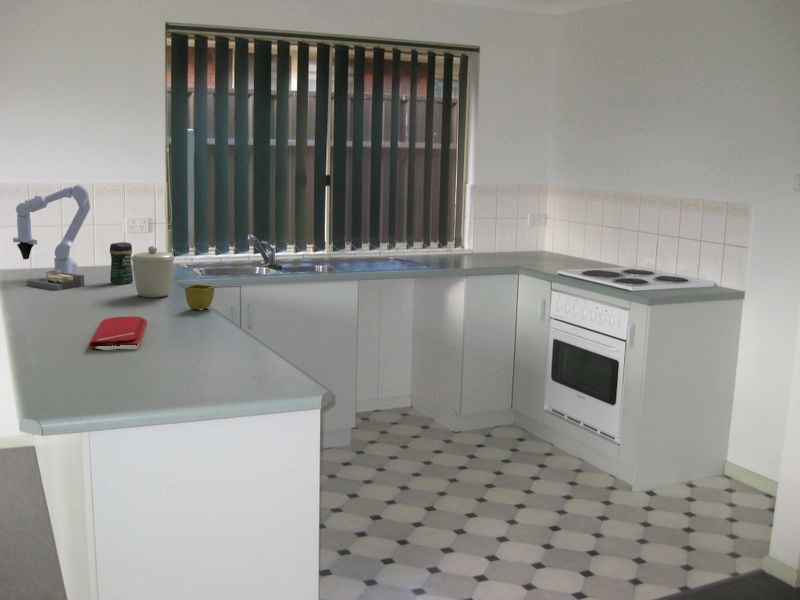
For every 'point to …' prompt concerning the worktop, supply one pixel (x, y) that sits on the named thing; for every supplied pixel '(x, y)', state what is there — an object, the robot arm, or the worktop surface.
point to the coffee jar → (121, 263)
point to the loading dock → (76, 282)
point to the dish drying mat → (119, 331)
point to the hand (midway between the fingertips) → (26, 259)
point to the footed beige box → (57, 276)
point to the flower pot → (199, 296)
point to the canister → (153, 272)
